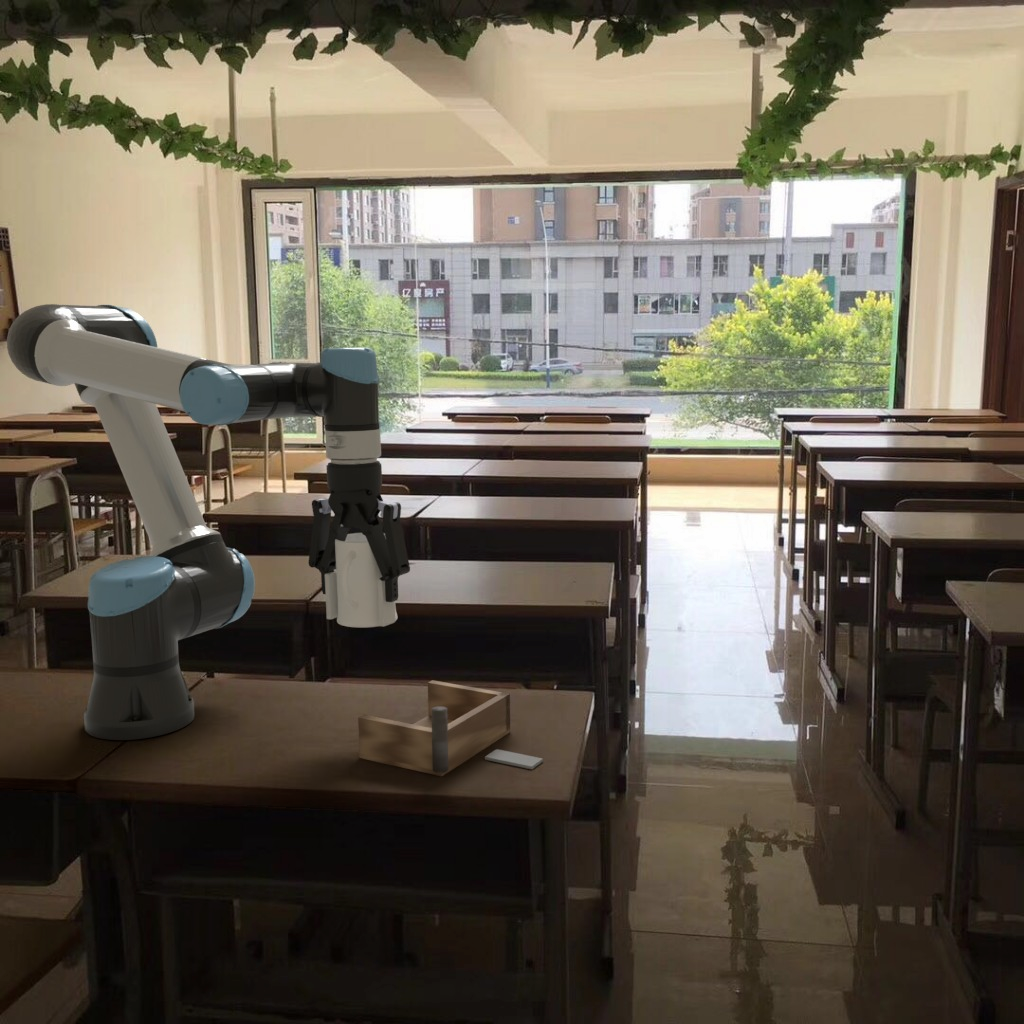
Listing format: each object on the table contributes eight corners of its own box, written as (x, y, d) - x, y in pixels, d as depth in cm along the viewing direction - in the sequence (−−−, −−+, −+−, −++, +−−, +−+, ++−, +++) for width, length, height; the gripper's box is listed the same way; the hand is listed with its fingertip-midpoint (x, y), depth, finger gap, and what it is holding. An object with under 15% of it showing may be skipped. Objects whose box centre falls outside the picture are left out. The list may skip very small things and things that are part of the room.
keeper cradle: (357, 758, 142) (355, 696, 141) (433, 717, 158) (431, 660, 156) (442, 778, 136) (441, 712, 134) (512, 732, 151) (512, 673, 150)
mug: (369, 635, 144) (365, 548, 143) (313, 631, 147) (309, 545, 146) (407, 614, 155) (404, 533, 154) (355, 611, 158) (351, 530, 157)
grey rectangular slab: (485, 759, 141) (485, 756, 141) (496, 751, 144) (496, 749, 144) (531, 769, 138) (531, 766, 138) (542, 761, 141) (542, 758, 141)
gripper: (276, 460, 150) (284, 618, 153) (401, 466, 140) (407, 635, 143) (311, 455, 156) (318, 607, 160) (433, 460, 146) (438, 622, 150)
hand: (360, 620), depth 151 cm, fingers closed on mug, 8 cm apart
